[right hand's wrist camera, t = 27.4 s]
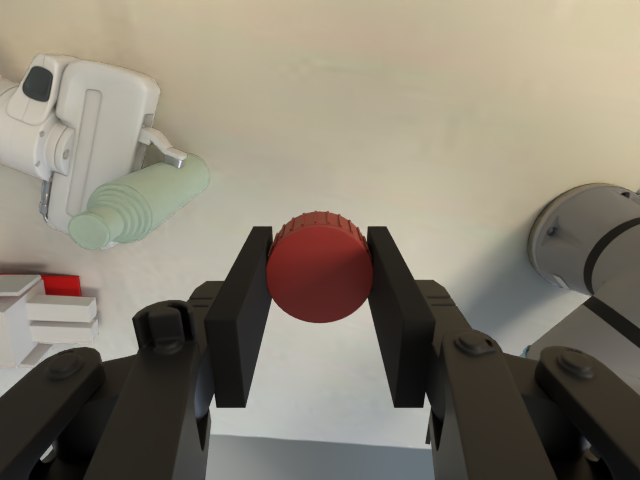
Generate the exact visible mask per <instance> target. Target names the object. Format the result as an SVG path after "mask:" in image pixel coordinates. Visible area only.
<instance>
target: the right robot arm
mask: <svg viewBox="0 0 640 480" xmlns="http://www.w3.org/2000/svg"><path fill="white" fill-rule="evenodd" d="M272 243H273V236H272V226H254V227H253V228H252V230H251V232H250V234H249V236H248V238H247V240H246V242H245V243H244V245H243V247H242V249H241V251H240V253H239V255H238V257H237V259H236V260H235V262H234V264H233V266H232V268H231V270H230V272H229V274H228V276H227V277H226V279H225V281H206V282H205V283H203V284H202V285H200V286H199V287H197V288H196V289H195V290H194V292H193V293H192V295H191V296H190V298H189V300H188V301H187V302H185V301H181V300H167V301H162V302H157V303H155V304H152V305H149V306H147V307H145V308H143V309H142V310H140V311H139V312H137V313H136V315H135V316H134V317H133V318H132V320H133V325H134V329H135V333H136V337H137V341H138V346H139V350H138V352H137V354H135V355H132V356H128V357H124V358H119V359H114V360H110V361H105V362H102V359H101V356H100V353H99V352H98V351H97V350H95V349H93V348H88V347H81V348H72V349H68V350H64V351H61V352H59V353H57V354H55V355H53V356H51V357H49V358H47V359H45V360H44V361H42V362H41V363H40V364H38V365H37V366H35V367H34V368H33V369H32V370H31V371H30V372H29V373H27V374H26V375H25V376H24V377H23V378H22V379H21V380H20V381H18V382H17V383H16V384H15V385H14V386H13V387H12V388H10V389H9V390H8V391H7V392H6V393H5V394H4V395H3V396H1V397H0V480H205V476H206V466H207V457H208V447H209V438H210V428H211V417H210V411H209V406H210V403H211V400H212V398H213V395H214V393H215V400H216V407H217V408H245V407H246V403H247V399H248V395H249V391H250V387H251V383H252V378H253V374H254V370H255V366H256V362H257V358H258V354H259V350H260V346H261V341H262V337H263V333H264V329H265V325H266V321H267V317H268V313H269V308H270V304H271V300H272V297H271V295H270V293H269V290H268V287H267V271H266V266H267V262H268V259H269V258H268V254H269V251H270V248H271V245H272ZM367 245H368V248H369V252H370V255H371V258H372V264H373V283H372V289H371V291H370V294H369V296H368V301H369V305H370V309H371V314H372V318H373V322H374V326H375V330H376V334H377V338H378V342H379V346H380V351H381V355H382V359H383V363H384V367H385V371H386V375H387V379H388V384H389V388H390V392H391V396H392V400H393V404H394V408H423V405H424V399H425V392H426V394H427V396H428V399H429V402H430V405H431V411H430V417H429V423H428V430H427V436H426V443H425V444H430V441H431V446H432V456H433V465H434V475H435V480H640V197H639V196H638V195H637V194H635V193H634V192H632V191H630V190H628V189H625V188H622V187H618V186H615V185H611V184H605V183H595V184H588V185H583V186H580V187H577V188H574V189H572V190H570V191H568V192H566V193H564V194H562V195H561V196H559V197H558V198H556V199H555V200H554V201H553V202H552V203H550V204H549V205H548V206H547V207H546V208H545V209H544V211H543V212H542V213H541V214H540V216H539V217H538V219H537V220H536V222H535V224H534V226H533V228H532V230H531V233H530V237H529V242H528V253H529V258H530V261H531V263H532V265H533V267H534V268H535V270H536V271H537V272H538V273H539V274H540V275H541V276H543V277H544V278H545V279H546V280H548V281H549V282H551V283H552V284H554V285H556V286H558V287H561V288H565V289H568V290H573V291H576V292H579V293H583V294H586V295H589V296H591V297H590V298H589V299H588V300H587V301H585V302H584V303H583V304H581V305H580V306H579V307H578V308H577V309H575V310H574V311H573V312H572V313H570V314H569V315H568V316H567V317H565V318H564V319H563V320H562V321H561V322H559V323H558V324H557V325H556V326H554V327H553V328H552V329H551V330H549V331H548V332H547V333H546V334H545V335H543V336H542V337H541V338H540V339H538V340H537V341H536V342H535V343H533V344H532V345H529V346H527V347H526V348H525V349H524V351H523V353H522V354H521V355H520V356H519V357H518V356H514V355H510V354H506V353H503V352H502V350H501V348H500V346H499V345H498V343H497V342H496V341H495V340H494V339H492V338H491V337H489V336H488V335H486V334H484V333H482V332H480V331H477V330H473V329H472V328H471V327H470V325H469V324H468V322H467V321H466V319H465V318H464V316H463V315H462V313H461V312H460V310H459V309H458V307H457V306H456V304H455V303H454V301H453V300H452V299H451V297H450V295H449V294H448V292H447V291H446V289H445V288H444V287H443V286H441V285H440V284H438V283H437V282H435V281H434V280H414V278H413V276H412V274H411V272H410V270H409V268H408V267H407V265H406V263H405V261H404V259H403V257H402V255H401V253H400V251H399V250H398V248H397V246H396V244H395V242H394V240H393V238H392V236H391V235H390V233H389V231H388V229H387V227H386V226H368V231H367ZM51 444H52V446H53V449H52V451H51V452H50V453H49V454H48V456H46V457H45V458H44V459H43V460H42V461H41V460H40V457H41V456H42V455H43V454H44V453H45V451H46V450H47V449H48V448H49V447H50V445H51Z"/></svg>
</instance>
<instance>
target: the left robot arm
mask: <svg viewBox="0 0 640 480" xmlns="http://www.w3.org/2000/svg"><path fill="white" fill-rule="evenodd" d="M159 96H160V88H159V86H158V84H157V83H156V82H155V80H154V79H153V78H151V77H149V76H147V75H144V74H142V73H139V72H136V71H133V70H130V69H127V68H123V67H120V66H115V65H111V64H106V63H101V62H94V61H87V60H81V59H78V58H75V57H71V56H67V55H61V54H49V53H43V54H37V55H36V56H35V57H34V58H33V60H32V62H31V64H30V66H29V68H28V70H27V72H26V73H25V75H24V77H23V79H22V81H21V82H20V83H15V82H11V81H9V80H7V79H5V78H4V77H3V76H1V75H0V164H3V165H6V166H8V167H11V168H14V169H16V170H19V171H21V172H24V173H27V174H29V175H32V176H34V177H37V178H40V179H42V180H43V183H42V199H41V202H40V205H39V211H40V213H41V214H43V217H44V219H45V221H46V223H47V225H48V226H49V227H51V228H53V229H55V230H58V231H61V232H64V233H66V234H67V235H69V232H68V224H69V221H70V219H71V218H72V217H73V216H74V215H76V214H78V213H81V212H83V211H86V207H87V202H88V199H89V197H90V195H91V194H92V193H93V192H94V190H95V189H96V188H98V187H99V186H100V185H103V184H105V183H107V182H110V181H112V180H115V179H118V178H120V177H123V176H125V175H128V174H130V173H133V172H135V171H138V170H140V169H142V165H143V161H144V157H145V153H146V149H147V145H151V144H155V145H156V147H157V148H158V149H159V150H160V151H161V152H162V153H163V154H164V155H165V158H164V163H166V164H169V165H171V164H172V165H173V166H174V167H176V168H182V167H184V164H185V161H186V158H187V154H186V153H185V152H182V151H180V150H177V149H175V148H173V146H172V145H171V143H170V142H169V141H168V140H167V139H166V137H165V136H164V135H163V134H162V133H161V132H160V131H158V130H156V129H153V128H152V124H153V120H154V116H155V112H156V108H157V104H158V100H159ZM47 214H48V216H47ZM168 219H169V218H168ZM168 219H167V220H168ZM167 220H166V221H167ZM166 221H164V222H166ZM69 236H70V235H69ZM117 244H118V243H117V242H111V241H110V242H109V243H108V245H106V246H105V247H103V248H101V250H104V249H108V248H112V247H114V246H115V245H117Z"/></svg>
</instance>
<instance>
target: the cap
mask: <svg viewBox="0 0 640 480" xmlns="http://www.w3.org/2000/svg"><path fill="white" fill-rule="evenodd" d="M268 258H269V259H268V262H267V266H266V271H267V287H268V290H269V293H270V295H271V297H272V298H273V300H274V301H275V303H276V304H277V305H278V306H279V307H280V308H281V309H282V310H283V311H285V312H286V313H288V314H289V315H291V316H293V317H294V318H297V319H299V320H302V321H306V322H312V323H328V322H333V321H337V320H340V319H343V318H345V317H347V316H349V315H350V314H352V313H353V312H355V311H356V310H357V309H358V308H359V307H360V306H361V305H362V304H363V303H364V302H365V300H366V299H367V297H368V296H369V294H370V291H371V289H372V283H373V264H372V258H371V255H370V252H369V248H368V245H367V242H366V239H365V236H362V234H361V232H360V230H359V228H358V227H356V226H355V225H354V224H352V223H351V220H347V219H345V218H344V217H341V215H340V214H338V215H337V214H333V213H329V211H327V212H317V211H315V212H311V213H306V214H305V213H303V215H300V216H298V217H296V218H294V217H293V218H292V220H291V221H290V222H288V223H287V224H286V225H285V224H284V225H283V227H282V229H281V230H280V232H279V233H277V234H276V236H275V239H274V242H273V243H272V245H271V248H270V251H269V254H268Z"/></svg>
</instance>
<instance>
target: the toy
mask: <svg viewBox="0 0 640 480" xmlns="http://www.w3.org/2000/svg"><path fill="white" fill-rule="evenodd" d="M96 314H97V309H96V298H95V297H82V296H81V289H80V282H79V276H55V275H22V274H0V368H16V367H27V368H34V367H35V366H37V365H38V364H39V363H40V361H41V360H42V359H43V358H44V357H45V356H46V355H47V354H48V353H49V352H50V350H51V349H52V348H53V345H51V344H41V343H39V342H50V343H85V344H92V343H93V342H94V341H95V339H96V338H97V336H98V335H99V330H98V319H93V318H94V317H95V315H96Z"/></svg>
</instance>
